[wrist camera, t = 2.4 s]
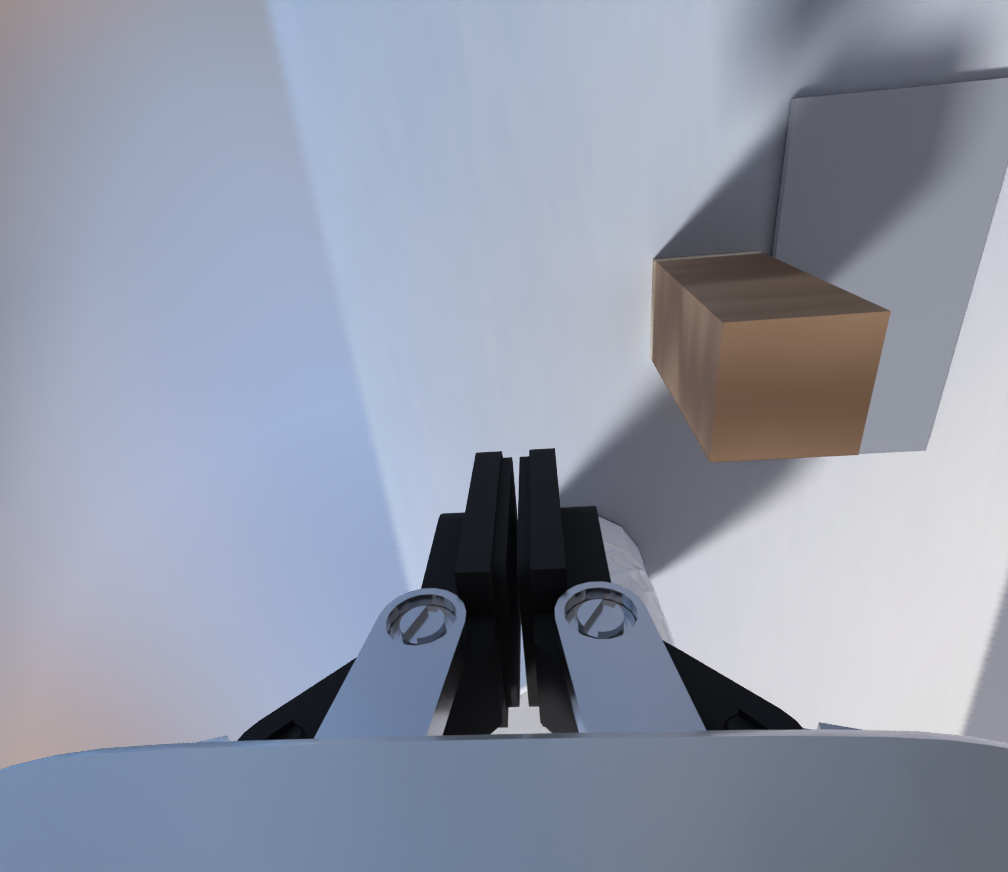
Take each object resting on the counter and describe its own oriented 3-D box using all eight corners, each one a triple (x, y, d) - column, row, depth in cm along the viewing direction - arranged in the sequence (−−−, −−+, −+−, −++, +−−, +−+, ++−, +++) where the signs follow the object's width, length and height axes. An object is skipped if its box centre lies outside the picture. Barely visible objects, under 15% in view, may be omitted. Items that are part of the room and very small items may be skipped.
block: (652, 259, 22) (722, 322, 14) (758, 250, 22) (890, 310, 14) (649, 356, 24) (709, 462, 16) (747, 350, 24) (858, 454, 16)
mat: (791, 99, 20) (796, 98, 19) (1023, 76, 19) (1032, 75, 19) (747, 455, 26) (750, 459, 25) (920, 446, 25) (925, 450, 25)
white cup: (569, 471, 27) (589, 634, 18) (684, 560, 29) (753, 746, 20) (466, 569, 30) (438, 751, 21) (577, 643, 32) (595, 838, 23)
